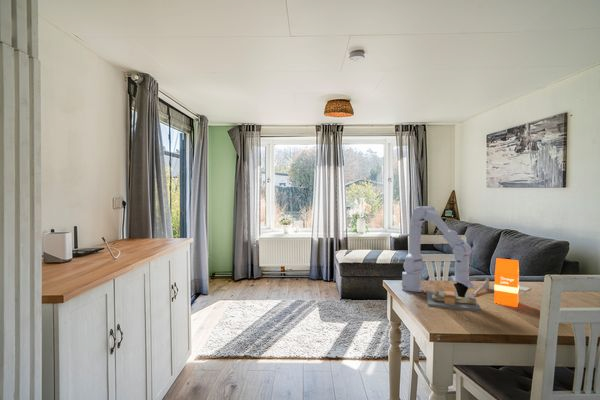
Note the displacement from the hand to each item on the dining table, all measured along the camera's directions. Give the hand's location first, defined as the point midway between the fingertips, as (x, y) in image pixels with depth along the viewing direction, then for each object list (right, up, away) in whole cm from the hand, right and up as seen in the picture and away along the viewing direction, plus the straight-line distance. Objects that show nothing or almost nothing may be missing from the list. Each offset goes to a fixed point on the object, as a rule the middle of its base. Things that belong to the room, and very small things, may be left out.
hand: (461, 299), depth 150 cm
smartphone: (+40, -2, +26) cm, 47 cm away
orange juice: (+21, -2, 0) cm, 21 cm away
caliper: (+18, -2, +16) cm, 24 cm away
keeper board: (-3, -2, +3) cm, 5 cm away
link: (-4, 0, -1) cm, 4 cm away
